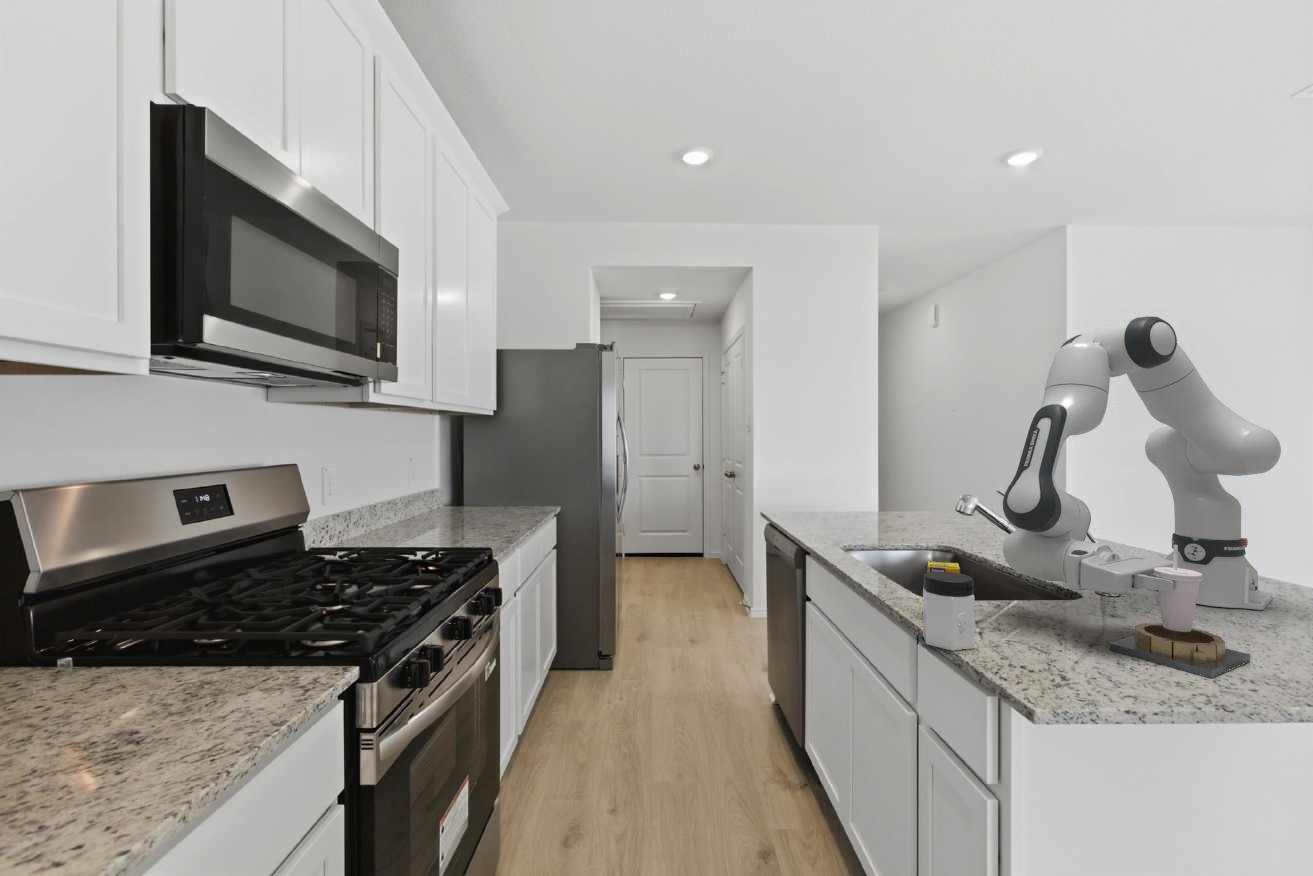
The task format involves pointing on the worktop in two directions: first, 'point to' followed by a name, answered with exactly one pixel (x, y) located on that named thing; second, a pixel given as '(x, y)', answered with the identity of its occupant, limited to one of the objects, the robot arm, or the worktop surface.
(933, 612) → the jar
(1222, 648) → the socket
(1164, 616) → the smoothie
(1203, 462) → the robot arm
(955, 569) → the supplement box
